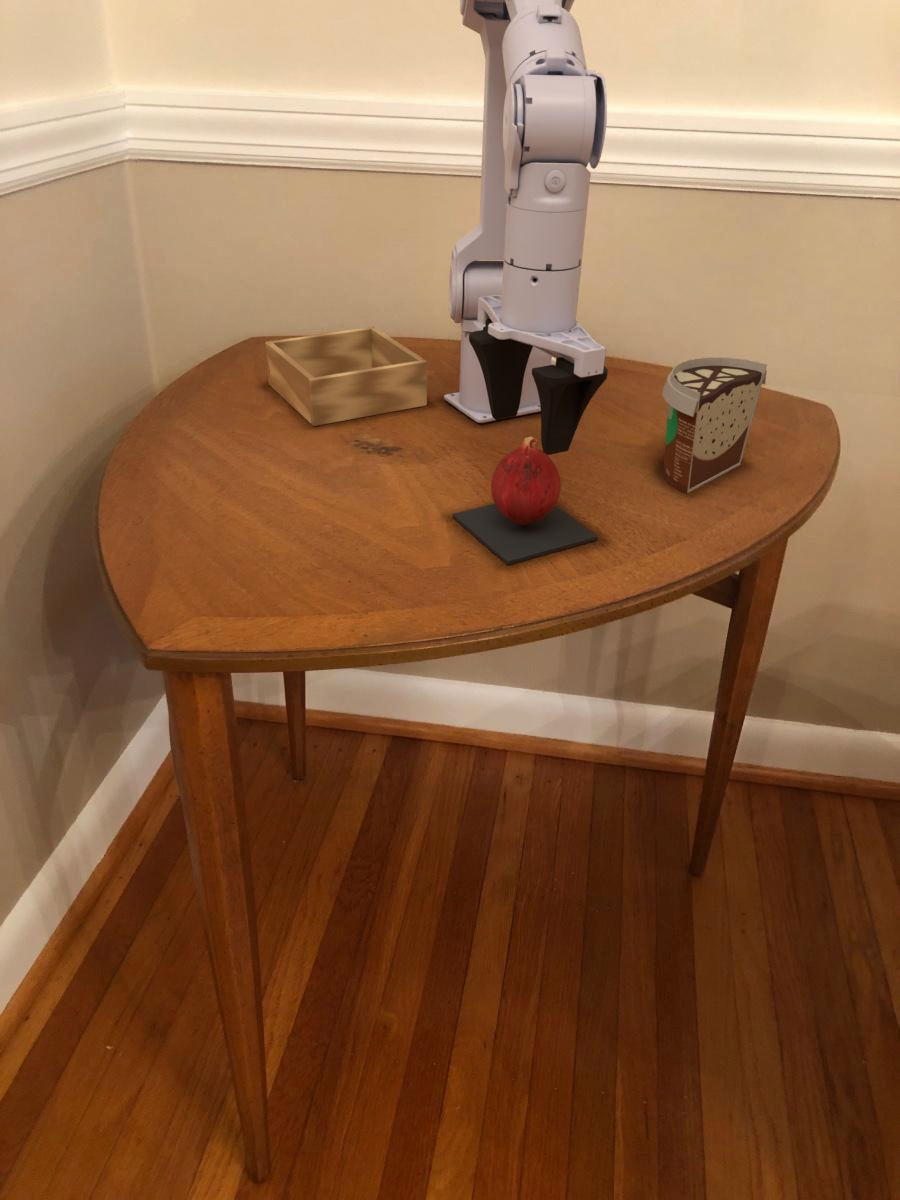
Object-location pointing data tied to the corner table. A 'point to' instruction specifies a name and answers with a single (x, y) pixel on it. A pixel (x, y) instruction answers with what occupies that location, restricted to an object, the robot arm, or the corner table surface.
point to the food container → (708, 417)
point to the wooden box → (346, 375)
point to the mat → (523, 533)
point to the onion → (526, 484)
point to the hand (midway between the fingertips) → (529, 433)
